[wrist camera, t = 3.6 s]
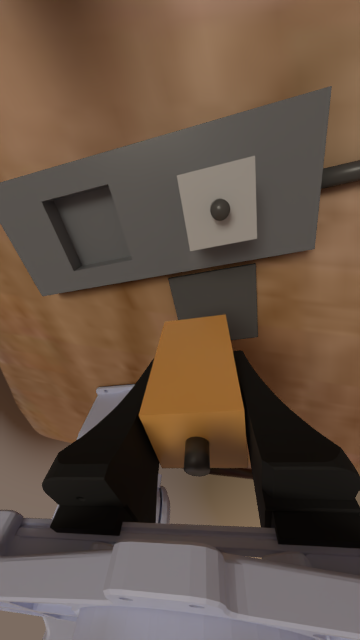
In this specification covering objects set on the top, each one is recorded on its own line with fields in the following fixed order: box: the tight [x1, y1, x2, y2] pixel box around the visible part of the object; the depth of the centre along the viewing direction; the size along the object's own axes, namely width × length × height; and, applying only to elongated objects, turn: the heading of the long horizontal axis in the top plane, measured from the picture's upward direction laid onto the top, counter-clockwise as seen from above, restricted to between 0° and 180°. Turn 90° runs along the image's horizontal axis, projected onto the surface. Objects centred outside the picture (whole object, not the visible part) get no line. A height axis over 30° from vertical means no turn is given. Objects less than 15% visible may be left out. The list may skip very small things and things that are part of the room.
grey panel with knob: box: [0, 86, 360, 296], centre depth 14 cm, size 32×9×7 cm, turn 102°
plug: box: [139, 314, 248, 476], centre depth 12 cm, size 4×4×8 cm
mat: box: [168, 263, 258, 340], centre depth 22 cm, size 8×8×1 cm
